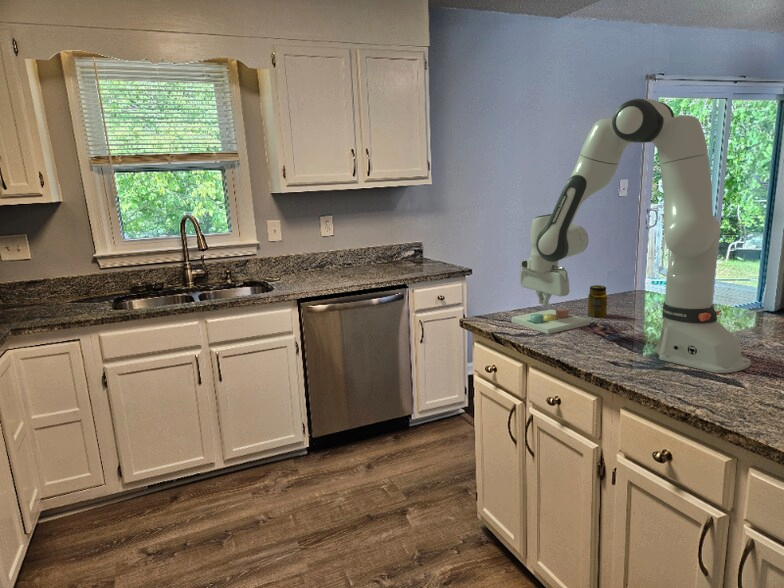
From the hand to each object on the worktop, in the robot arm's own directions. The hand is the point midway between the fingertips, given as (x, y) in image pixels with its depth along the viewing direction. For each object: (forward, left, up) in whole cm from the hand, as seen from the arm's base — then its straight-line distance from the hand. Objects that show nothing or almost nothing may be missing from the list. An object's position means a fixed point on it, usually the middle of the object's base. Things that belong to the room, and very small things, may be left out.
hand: (543, 304), depth 171 cm
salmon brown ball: (0, -8, -7) cm, 10 cm away
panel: (0, -2, -8) cm, 9 cm away
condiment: (-3, -20, -9) cm, 22 cm away
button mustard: (0, -2, -8) cm, 8 cm away
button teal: (0, +3, -7) cm, 7 cm away
